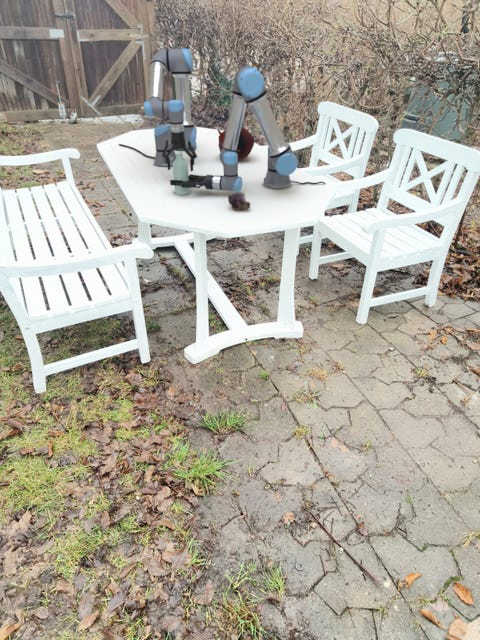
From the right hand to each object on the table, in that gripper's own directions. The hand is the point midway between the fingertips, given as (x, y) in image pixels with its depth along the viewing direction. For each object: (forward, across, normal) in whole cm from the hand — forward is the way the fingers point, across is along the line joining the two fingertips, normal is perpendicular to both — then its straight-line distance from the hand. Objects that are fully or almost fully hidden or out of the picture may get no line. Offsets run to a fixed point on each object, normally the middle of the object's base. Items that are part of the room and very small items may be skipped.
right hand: (173, 180), depth 244 cm
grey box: (+25, +93, -7) cm, 96 cm away
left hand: (+2, +19, 0) cm, 19 cm away
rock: (-40, -18, -7) cm, 45 cm away
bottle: (-5, 0, -7) cm, 8 cm away
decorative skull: (-19, +72, -7) cm, 75 cm away
